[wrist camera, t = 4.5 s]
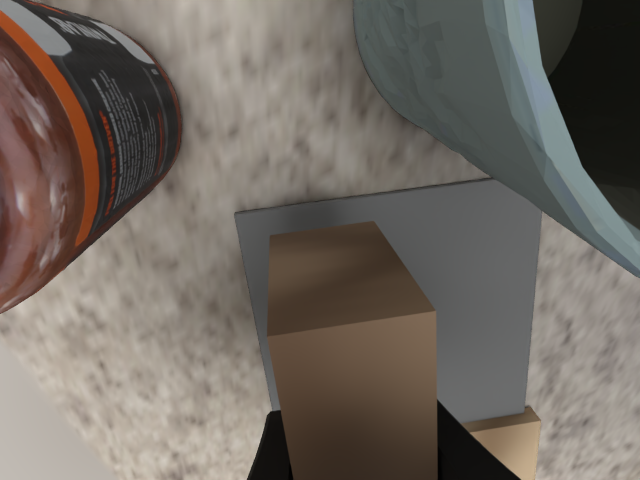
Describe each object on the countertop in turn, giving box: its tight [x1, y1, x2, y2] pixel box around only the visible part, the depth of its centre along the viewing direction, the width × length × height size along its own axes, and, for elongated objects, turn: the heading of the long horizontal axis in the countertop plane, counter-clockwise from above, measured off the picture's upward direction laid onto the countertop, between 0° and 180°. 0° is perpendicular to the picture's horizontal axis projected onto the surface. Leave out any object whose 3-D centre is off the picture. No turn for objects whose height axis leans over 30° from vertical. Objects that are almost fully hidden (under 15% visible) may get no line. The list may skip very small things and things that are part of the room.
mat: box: [234, 178, 542, 424], centre depth 20 cm, size 12×21×1 cm, turn 6°
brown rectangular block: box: [267, 221, 438, 480], centre depth 12 cm, size 3×10×5 cm, turn 6°
